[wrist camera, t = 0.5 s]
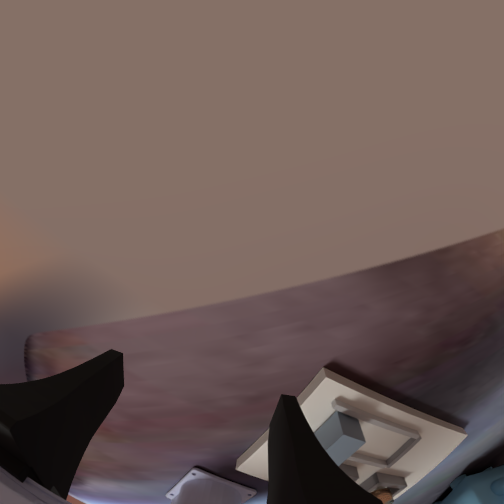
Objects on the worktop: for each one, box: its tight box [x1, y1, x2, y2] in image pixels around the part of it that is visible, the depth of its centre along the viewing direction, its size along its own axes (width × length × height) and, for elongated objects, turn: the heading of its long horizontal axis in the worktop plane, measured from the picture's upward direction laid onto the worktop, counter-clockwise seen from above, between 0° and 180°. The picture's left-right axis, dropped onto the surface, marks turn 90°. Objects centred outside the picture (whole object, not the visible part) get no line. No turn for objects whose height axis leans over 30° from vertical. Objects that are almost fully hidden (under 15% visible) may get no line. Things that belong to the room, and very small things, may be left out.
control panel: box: [236, 367, 468, 499], centre depth 22 cm, size 14×22×3 cm, turn 59°
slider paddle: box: [314, 411, 366, 466], centre depth 20 cm, size 4×2×3 cm, turn 149°
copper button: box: [371, 488, 394, 504], centre depth 21 cm, size 3×3×2 cm
